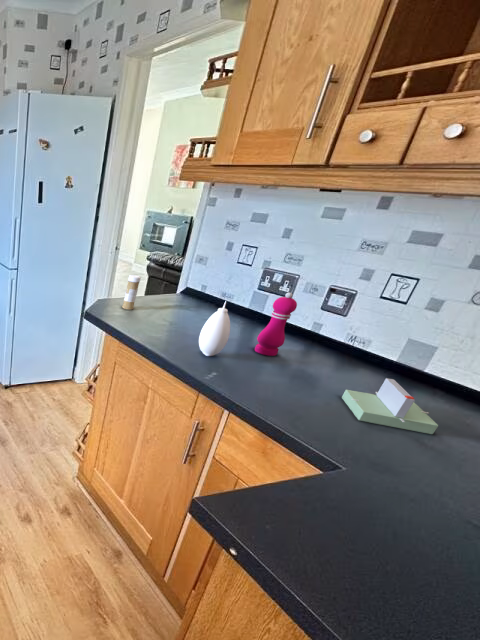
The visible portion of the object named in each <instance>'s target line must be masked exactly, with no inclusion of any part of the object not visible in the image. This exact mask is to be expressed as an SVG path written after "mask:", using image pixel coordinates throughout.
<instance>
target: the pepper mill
mask: <svg viewBox="0 0 480 640" xmlns="http://www.w3.org/2000/svg"><path fill="white" fill-rule="evenodd" d="M284 295H285V296H279V297H278V298H276V299H275V300H274V301H273V303H272V308H273V310H272V311H271V314H270V316H271V318H270V321H269V322H268V323H267V325H266V326H265V327H264V328H263V329H262V330H261V331H260V332H259V334H258V335H257V337H256V338H257V339H256V340H257V344H256V345H255V347H254V351H255V352H256V353H258V354H260V355H262V356H266V357H267V356H268V357H274V356H277V355H278V353H279V350H280V349H279V348H280V347H282V346H284V344H285V341H286V334H285V326H286V324H287V322H288V320H290V319H291V316H292V313H294V312H295V311H296V309H297V306H298V302H297V301H296V300H295V298H292V297H293V293H292V292H290V291H288V292H286V293H285V294H284Z"/></svg>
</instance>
